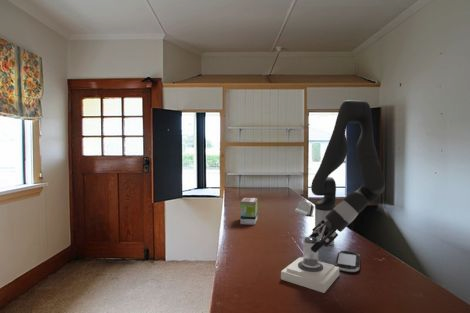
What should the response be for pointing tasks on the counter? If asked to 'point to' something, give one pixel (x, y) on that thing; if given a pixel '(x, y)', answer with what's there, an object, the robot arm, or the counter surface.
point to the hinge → (305, 208)
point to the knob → (310, 254)
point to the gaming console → (348, 261)
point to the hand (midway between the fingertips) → (310, 246)
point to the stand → (311, 275)
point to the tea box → (248, 211)
